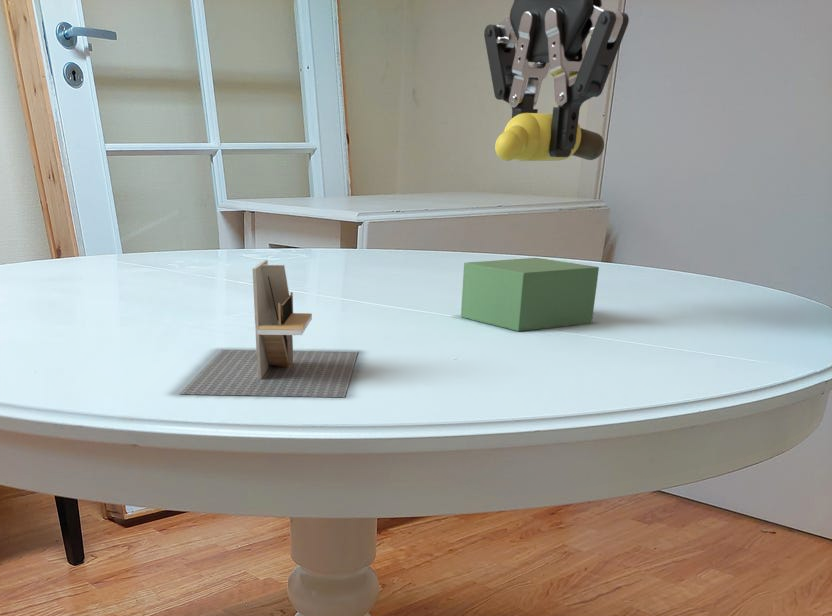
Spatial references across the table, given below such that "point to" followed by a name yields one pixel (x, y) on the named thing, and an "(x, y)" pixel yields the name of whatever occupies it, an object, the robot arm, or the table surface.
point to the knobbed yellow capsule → (542, 140)
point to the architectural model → (275, 352)
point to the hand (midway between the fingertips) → (540, 155)
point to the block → (529, 293)
